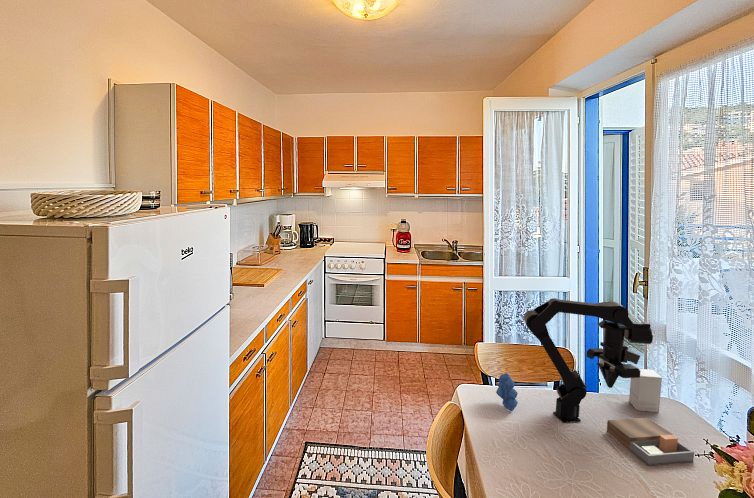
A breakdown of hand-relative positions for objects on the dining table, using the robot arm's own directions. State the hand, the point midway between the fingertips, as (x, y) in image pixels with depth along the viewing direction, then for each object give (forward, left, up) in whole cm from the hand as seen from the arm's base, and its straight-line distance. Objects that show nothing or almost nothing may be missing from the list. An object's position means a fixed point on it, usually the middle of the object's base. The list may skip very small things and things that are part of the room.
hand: (609, 387), depth 139 cm
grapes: (-30, +13, -12) cm, 35 cm away
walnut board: (+3, -11, -12) cm, 16 cm away
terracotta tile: (+6, -17, -9) cm, 20 cm away
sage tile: (-1, -20, -9) cm, 22 cm away
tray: (+3, -19, -12) cm, 23 cm away
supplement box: (+20, +8, -12) cm, 25 cm away
